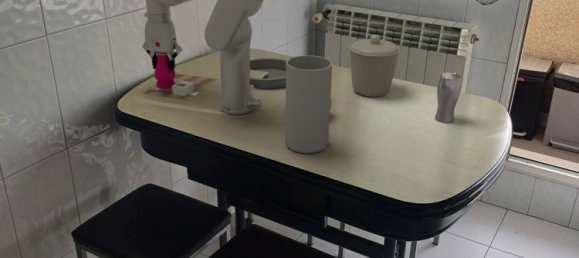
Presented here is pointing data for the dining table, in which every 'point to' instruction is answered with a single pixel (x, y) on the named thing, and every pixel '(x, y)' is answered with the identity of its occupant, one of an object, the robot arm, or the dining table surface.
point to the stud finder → (183, 88)
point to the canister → (373, 65)
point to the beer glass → (447, 96)
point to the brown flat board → (198, 81)
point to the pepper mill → (163, 71)
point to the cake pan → (275, 69)
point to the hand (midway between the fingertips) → (164, 68)
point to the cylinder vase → (308, 103)
